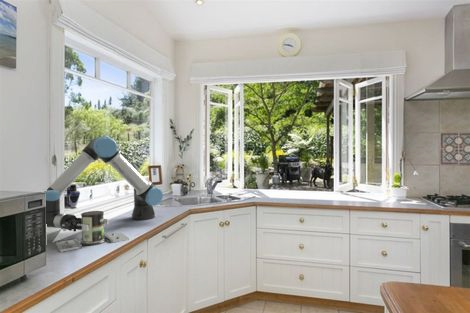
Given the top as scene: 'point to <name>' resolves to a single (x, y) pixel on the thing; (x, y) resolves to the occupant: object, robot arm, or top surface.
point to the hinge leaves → (77, 245)
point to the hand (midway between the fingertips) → (98, 224)
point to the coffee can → (93, 227)
